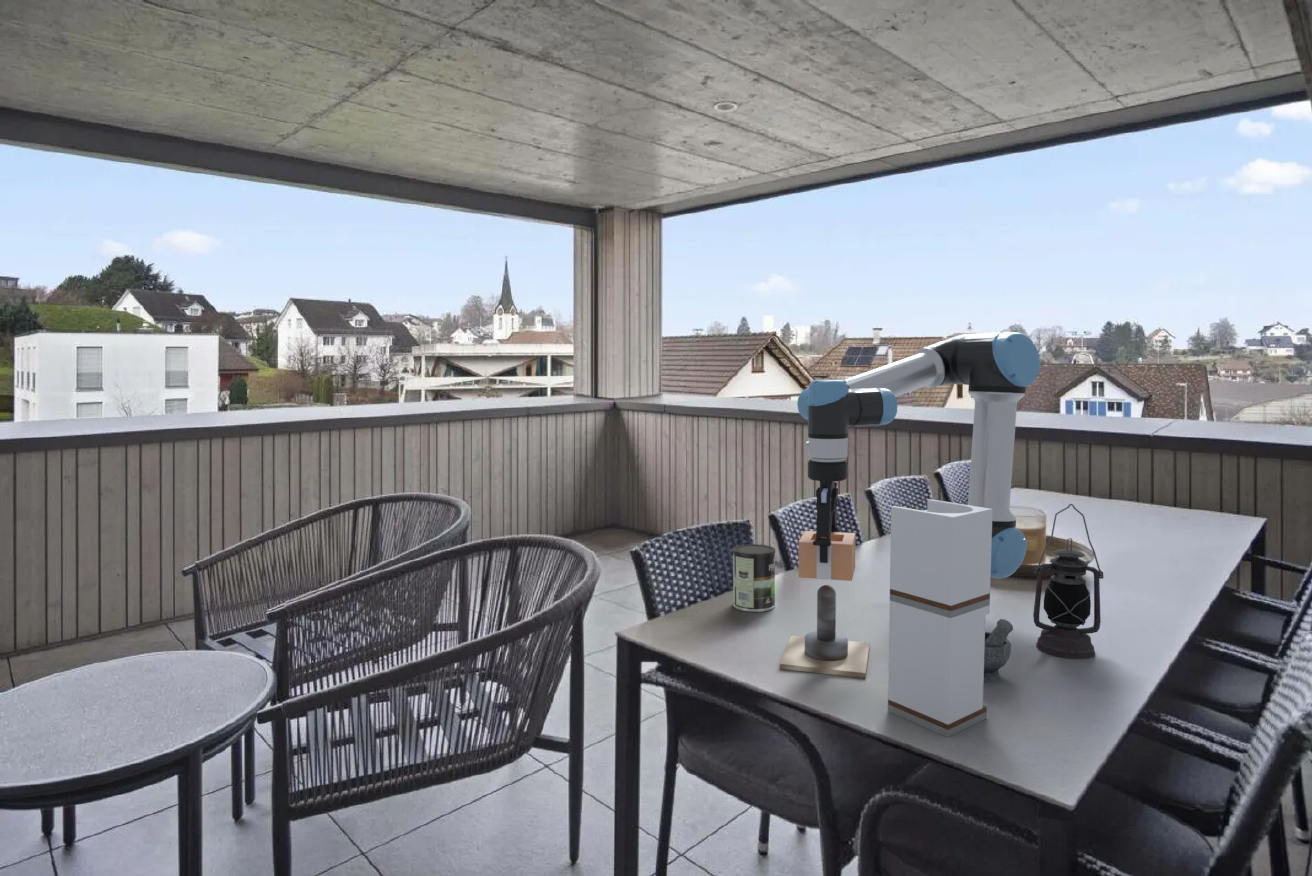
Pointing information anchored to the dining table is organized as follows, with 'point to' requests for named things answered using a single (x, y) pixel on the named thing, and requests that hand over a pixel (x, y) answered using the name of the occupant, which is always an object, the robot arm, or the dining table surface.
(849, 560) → the square collar
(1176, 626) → the dining table surface
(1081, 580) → the lantern
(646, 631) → the dining table surface
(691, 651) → the dining table surface
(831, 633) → the post stand
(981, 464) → the robot arm
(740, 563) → the coffee can
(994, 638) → the mortar and pestle
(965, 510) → the white square vase
